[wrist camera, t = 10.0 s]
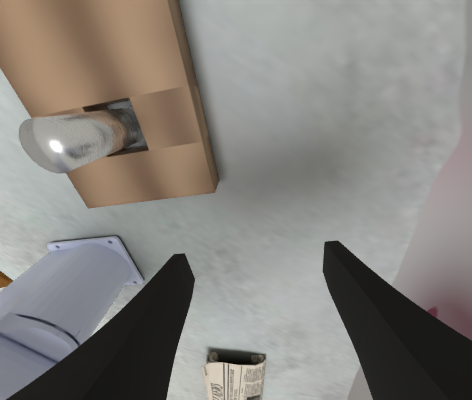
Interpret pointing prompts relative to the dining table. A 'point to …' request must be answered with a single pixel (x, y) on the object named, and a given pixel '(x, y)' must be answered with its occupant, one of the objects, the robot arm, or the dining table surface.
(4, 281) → the primitive tool
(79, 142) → the steel peg
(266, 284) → the dining table surface
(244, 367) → the newspaper
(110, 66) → the tool stand
